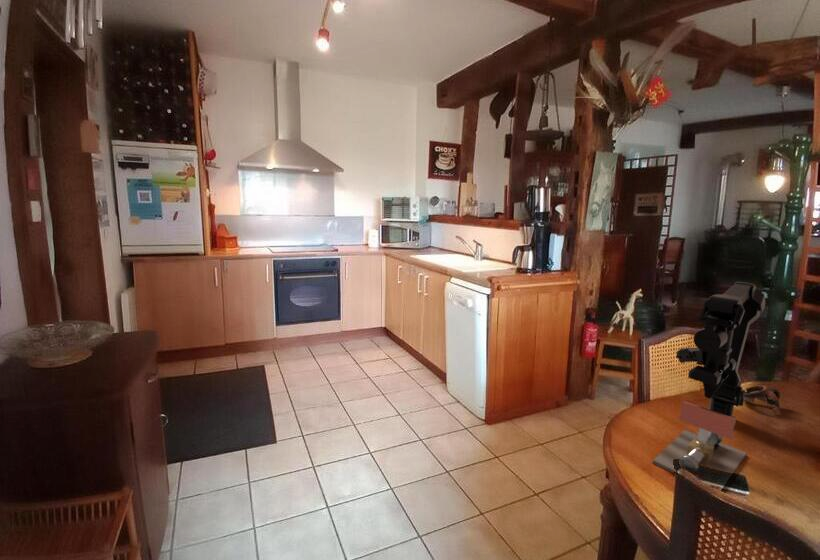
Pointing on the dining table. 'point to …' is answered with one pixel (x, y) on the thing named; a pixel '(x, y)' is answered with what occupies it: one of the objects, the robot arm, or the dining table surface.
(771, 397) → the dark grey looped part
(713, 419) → the valve lever
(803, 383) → the dining table surface
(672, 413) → the dining table surface
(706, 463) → the pipe and valve
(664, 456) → the mounting board
